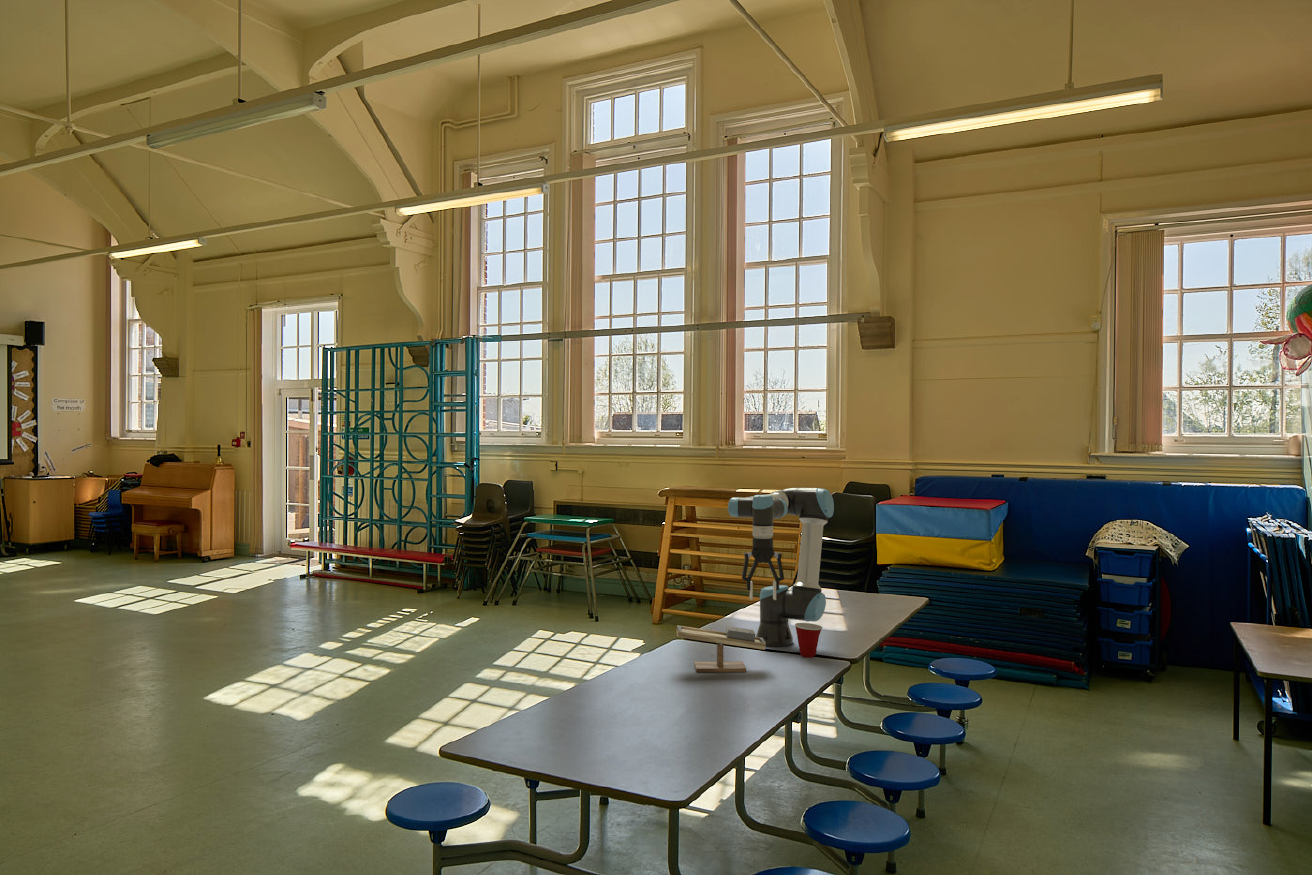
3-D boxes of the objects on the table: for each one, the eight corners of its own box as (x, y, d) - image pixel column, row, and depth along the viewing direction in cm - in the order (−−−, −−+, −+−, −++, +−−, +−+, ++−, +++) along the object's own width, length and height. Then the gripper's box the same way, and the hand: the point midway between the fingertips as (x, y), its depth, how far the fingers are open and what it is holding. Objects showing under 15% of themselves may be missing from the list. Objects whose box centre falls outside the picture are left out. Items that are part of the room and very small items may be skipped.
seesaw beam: (676, 633, 326) (677, 624, 326) (761, 645, 327) (762, 637, 327) (677, 639, 316) (678, 630, 316) (764, 652, 317) (766, 643, 317)
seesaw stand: (694, 664, 326) (694, 640, 326) (742, 664, 327) (742, 640, 327) (696, 672, 316) (696, 647, 316) (746, 671, 317) (746, 647, 317)
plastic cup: (825, 659, 334) (824, 627, 334) (796, 659, 335) (796, 627, 335) (820, 652, 345) (820, 621, 345) (792, 652, 346) (792, 621, 346)
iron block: (725, 635, 325) (726, 625, 325) (751, 639, 325) (753, 629, 325) (726, 639, 318) (728, 630, 318) (754, 643, 318) (755, 633, 318)
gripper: (735, 538, 318) (735, 601, 318) (792, 538, 318) (792, 601, 318) (733, 536, 325) (733, 597, 325) (789, 536, 326) (789, 597, 326)
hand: (762, 599), depth 322 cm, fingers open, 8 cm apart
